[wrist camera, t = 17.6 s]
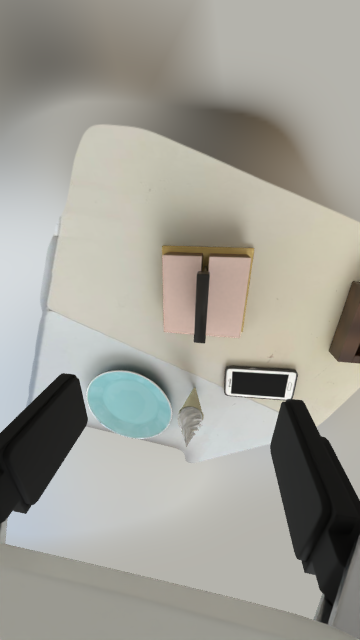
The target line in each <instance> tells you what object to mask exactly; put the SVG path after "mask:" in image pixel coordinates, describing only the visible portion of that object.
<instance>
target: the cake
mask: <svg viewBox="0 0 360 640" xmlns="http://www.w3.org/2000/svg"><path fill="white" fill-rule="evenodd" d="M253 254H254V248H232V247H194V246H162V267H163V313H164V332H170V333H182V334H194V328H195V304H196V281H197V273H198V271H204V267H205V266H207V271H209V272H210V280H209V295H208V310H207V325H206V335H207V336H220V337H232V338H240V335H241V332H242V331H243V324H244V317H245V310H246V303H247V296H248V289H249V282H250V275H251V268H252V261H253Z"/></svg>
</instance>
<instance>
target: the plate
mask: <svg viewBox="0 0 360 640" xmlns="http://www.w3.org/2000/svg"><path fill="white" fill-rule="evenodd" d="M86 397H87V403H88V406H89V409H90V411H91V412H92V414H93V415H94V417H95V418H96V419H97V420H98V421H99V422H100V423H101V424H102V425H103V426H105V427H106V428H108V429H109V430H111V431H113V432H115V433H117V434H120V435H122V436H125V437H129V438H135V439H146V438H151V437H155V436H157V435H159V434H161V433H162V432H163V431H165V430H166V429H167V427H168V426H169V424H170V422H171V419H172V407H171V404H170V401H169V399H168V397H167V396H166V394H165V393H164V392H163V391H162V389H161V388H160V387H159V386H158V385H157V384H155V383H154V382H153V381H152V380H150V379H149V378H147V377H145V376H143V375H141V374H138V373H135V372H131V371H126V370H113V371H107V372H104V373H102V374H100V375H98V376H96V377H95V378H94V379H93V380H92V381H91V382H90V384H89V386H88V388H87V393H86Z"/></svg>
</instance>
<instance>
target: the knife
mask: <svg viewBox="0 0 360 640" xmlns="http://www.w3.org/2000/svg"><path fill="white" fill-rule="evenodd" d="M209 280H210V272H209V271H207V266H205V267H204V271H198V273H197V281H196V304H195V328H194V342H196V343H205V339H206V325H207V310H208V295H209Z"/></svg>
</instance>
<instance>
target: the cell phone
mask: <svg viewBox="0 0 360 640" xmlns="http://www.w3.org/2000/svg"><path fill="white" fill-rule="evenodd" d="M297 377H298V374H297V372H296V371H295V370H287V369H268V368H250V367H233V366H229V367H226V369H225V383H224V393H225V395H227V396H235V397H242V396H244V397H248V398H261V399H274V400H287V399H292V398H293V395H294V391H295V386H296V382H297Z"/></svg>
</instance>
